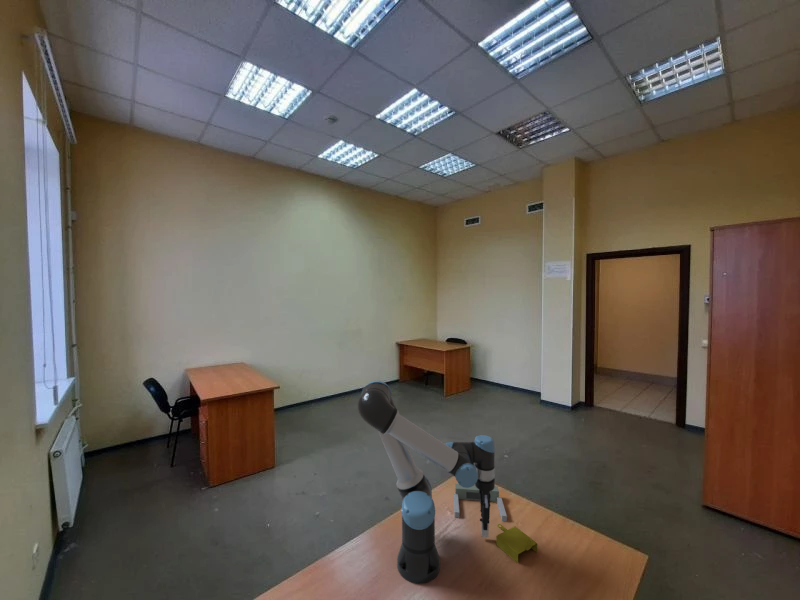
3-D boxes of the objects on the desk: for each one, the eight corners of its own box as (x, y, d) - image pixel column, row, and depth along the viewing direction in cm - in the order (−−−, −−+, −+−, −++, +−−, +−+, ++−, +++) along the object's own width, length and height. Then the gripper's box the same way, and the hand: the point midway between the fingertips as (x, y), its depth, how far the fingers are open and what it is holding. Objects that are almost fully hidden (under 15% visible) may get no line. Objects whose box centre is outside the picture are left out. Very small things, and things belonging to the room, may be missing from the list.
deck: (454, 517, 144) (454, 503, 143) (453, 493, 160) (453, 481, 160) (506, 521, 141) (506, 507, 141) (499, 496, 158) (499, 484, 158)
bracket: (511, 509, 137) (542, 532, 124) (511, 527, 137) (542, 552, 124) (483, 522, 129) (514, 548, 116) (483, 541, 130) (514, 569, 117)
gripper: (497, 487, 123) (497, 549, 123) (492, 468, 136) (492, 524, 136) (476, 485, 124) (476, 547, 124) (473, 467, 137) (473, 523, 137)
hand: (484, 535), depth 130 cm, fingers closed
